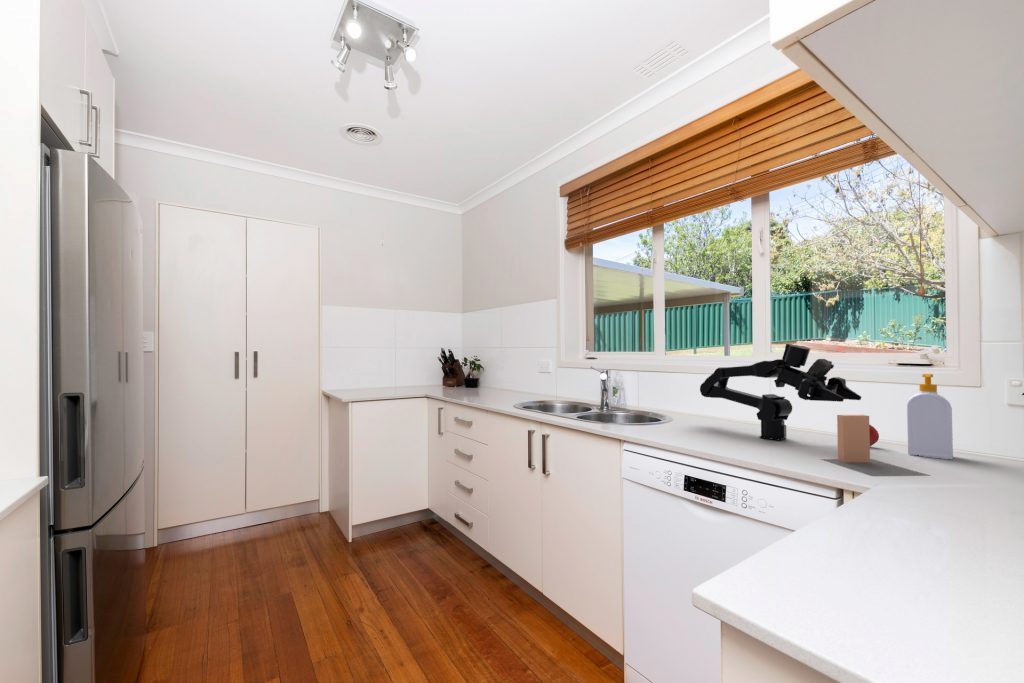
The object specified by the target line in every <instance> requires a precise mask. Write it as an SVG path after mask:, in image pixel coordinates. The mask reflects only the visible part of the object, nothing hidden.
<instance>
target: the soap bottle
mask: <svg viewBox="0 0 1024 683" xmlns="http://www.w3.org/2000/svg"><path fill="white" fill-rule="evenodd" d="M921 377H922V378H924V383H919V388H918V389H919V391H918V393H916V394H913V395H912V396H911V397H909V398H908V400H907V403H906V416H907V419H906V421H907V427H906V428H907V453H908V455H910V456H914V455H919V456H918V457H922V456H923V457H925V458H931V457H932V458H933V459H939V458H941V459H940V460H948V459H950V460H953V458H954V448H953V446H954V445H953V443H954V442H953V440H954V438H953V410H952V409H953V408H952V405H951V402H950V401H949V400H948V399H947V398H946V397H944V396H943V395H940V394H938V385H937V384H934V383H933V384H932V378H934V374H933V373H932V374H931V373H923V374H922V375H921Z"/></svg>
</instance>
